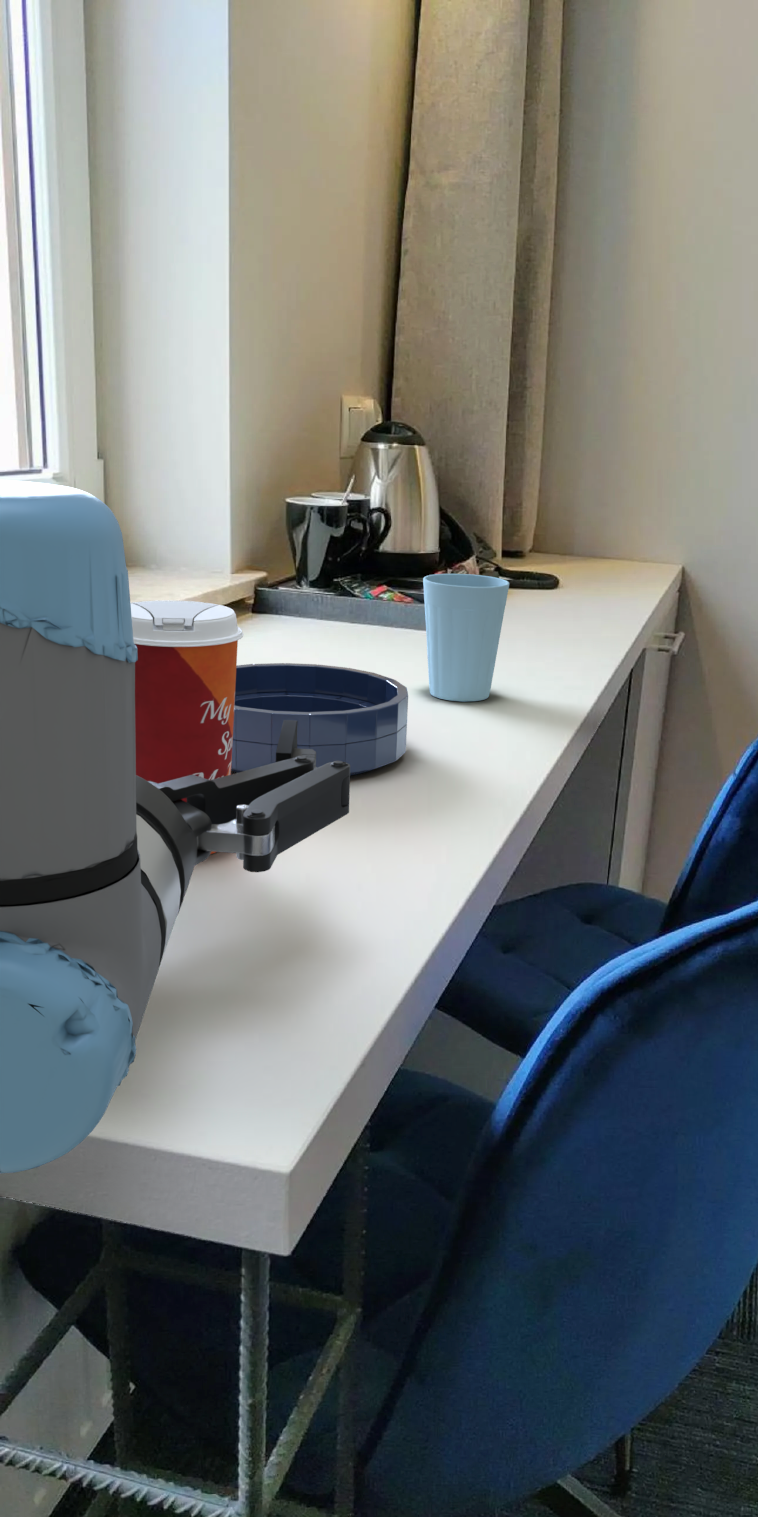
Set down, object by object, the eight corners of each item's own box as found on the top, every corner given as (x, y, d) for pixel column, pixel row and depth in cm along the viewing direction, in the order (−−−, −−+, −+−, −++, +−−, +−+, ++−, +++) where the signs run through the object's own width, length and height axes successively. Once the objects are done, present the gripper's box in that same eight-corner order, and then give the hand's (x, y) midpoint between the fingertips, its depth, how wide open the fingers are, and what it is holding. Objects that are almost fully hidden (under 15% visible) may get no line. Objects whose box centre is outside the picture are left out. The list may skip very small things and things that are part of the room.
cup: (416, 702, 115) (423, 583, 111) (417, 683, 122) (423, 571, 118) (502, 707, 115) (511, 588, 111) (497, 687, 122) (505, 576, 118)
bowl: (170, 779, 90) (168, 709, 88) (197, 720, 105) (197, 659, 103) (408, 787, 91) (411, 718, 89) (401, 727, 106) (404, 667, 104)
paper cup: (245, 864, 75) (245, 623, 70) (109, 866, 74) (99, 620, 69) (242, 821, 82) (241, 599, 77) (118, 821, 81) (109, 596, 76)
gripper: (-233, 962, 51) (-66, 797, 70) (401, 978, 53) (391, 813, 72) (-260, 779, 48) (-78, 661, 68) (409, 802, 50) (396, 680, 70)
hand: (164, 739), depth 70 cm, fingers open, 13 cm apart
